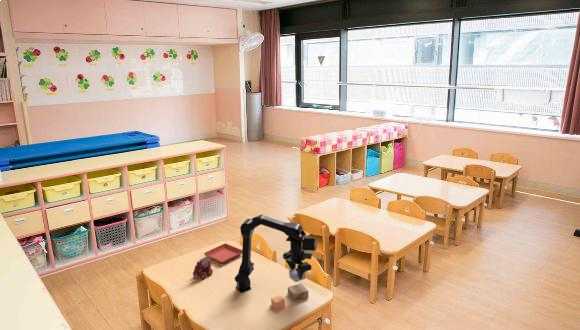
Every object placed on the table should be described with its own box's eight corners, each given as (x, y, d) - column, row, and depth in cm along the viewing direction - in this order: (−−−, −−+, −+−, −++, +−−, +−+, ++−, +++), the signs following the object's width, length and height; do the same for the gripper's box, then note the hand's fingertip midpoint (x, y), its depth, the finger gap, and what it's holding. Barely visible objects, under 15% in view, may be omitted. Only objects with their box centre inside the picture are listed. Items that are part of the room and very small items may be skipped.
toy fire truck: (190, 278, 232) (188, 262, 230) (207, 269, 242) (205, 253, 239) (198, 282, 228) (196, 265, 225) (215, 272, 238) (213, 256, 235)
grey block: (295, 282, 206) (295, 275, 205) (289, 277, 211) (289, 270, 210) (305, 278, 209) (305, 271, 208) (299, 273, 214) (298, 266, 213)
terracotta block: (276, 309, 202) (275, 302, 201) (271, 304, 206) (271, 297, 205) (285, 306, 204) (284, 299, 203) (280, 301, 208) (279, 294, 207)
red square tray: (225, 247, 269) (225, 242, 268) (244, 255, 258) (244, 250, 257) (203, 258, 256) (203, 253, 255) (222, 267, 245) (221, 262, 244)
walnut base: (294, 301, 208) (294, 294, 207) (287, 293, 215) (287, 287, 214) (308, 297, 211) (308, 290, 210) (301, 289, 218) (301, 283, 217)
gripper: (320, 251, 202) (320, 279, 206) (299, 237, 218) (300, 264, 222) (301, 257, 197) (302, 286, 201) (281, 243, 212) (283, 270, 216)
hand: (297, 276), depth 210 cm, fingers closed on grey block, 6 cm apart
